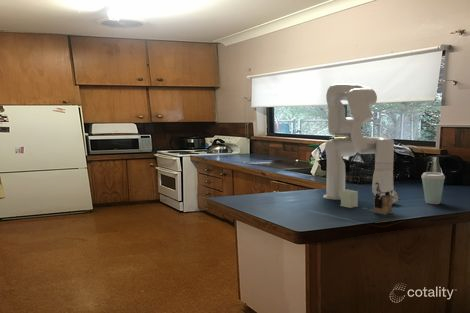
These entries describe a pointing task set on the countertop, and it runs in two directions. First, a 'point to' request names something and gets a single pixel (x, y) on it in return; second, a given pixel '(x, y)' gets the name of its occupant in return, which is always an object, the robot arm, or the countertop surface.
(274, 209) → the countertop surface
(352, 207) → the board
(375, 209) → the walnut block
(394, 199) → the cream knobbly ball
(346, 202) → the sage block
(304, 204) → the countertop surface
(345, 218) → the countertop surface
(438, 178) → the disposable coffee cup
